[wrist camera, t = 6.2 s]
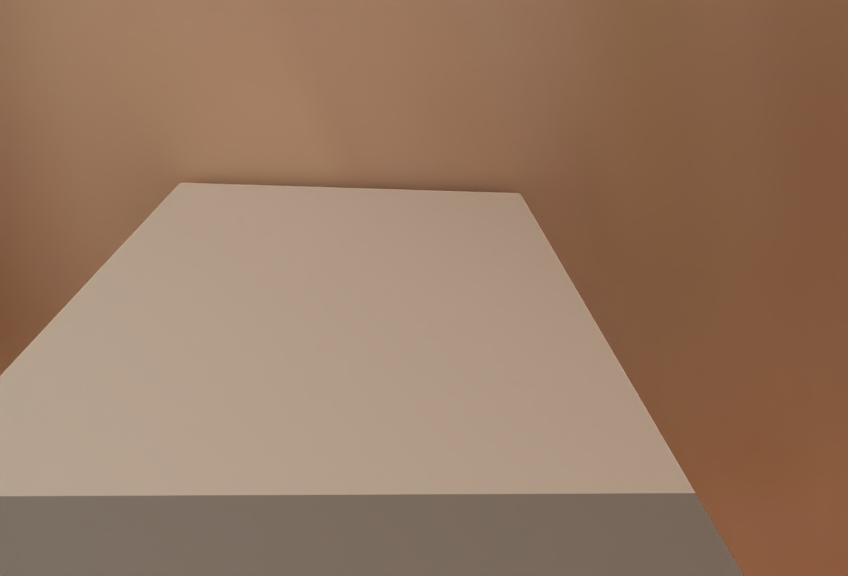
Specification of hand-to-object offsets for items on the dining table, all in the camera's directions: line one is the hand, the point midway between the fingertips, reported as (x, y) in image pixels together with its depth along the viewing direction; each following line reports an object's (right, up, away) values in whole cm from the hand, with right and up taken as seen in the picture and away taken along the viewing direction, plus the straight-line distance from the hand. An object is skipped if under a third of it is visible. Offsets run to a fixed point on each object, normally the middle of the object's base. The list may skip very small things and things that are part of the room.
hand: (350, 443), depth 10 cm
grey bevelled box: (0, +1, +1) cm, 1 cm away
